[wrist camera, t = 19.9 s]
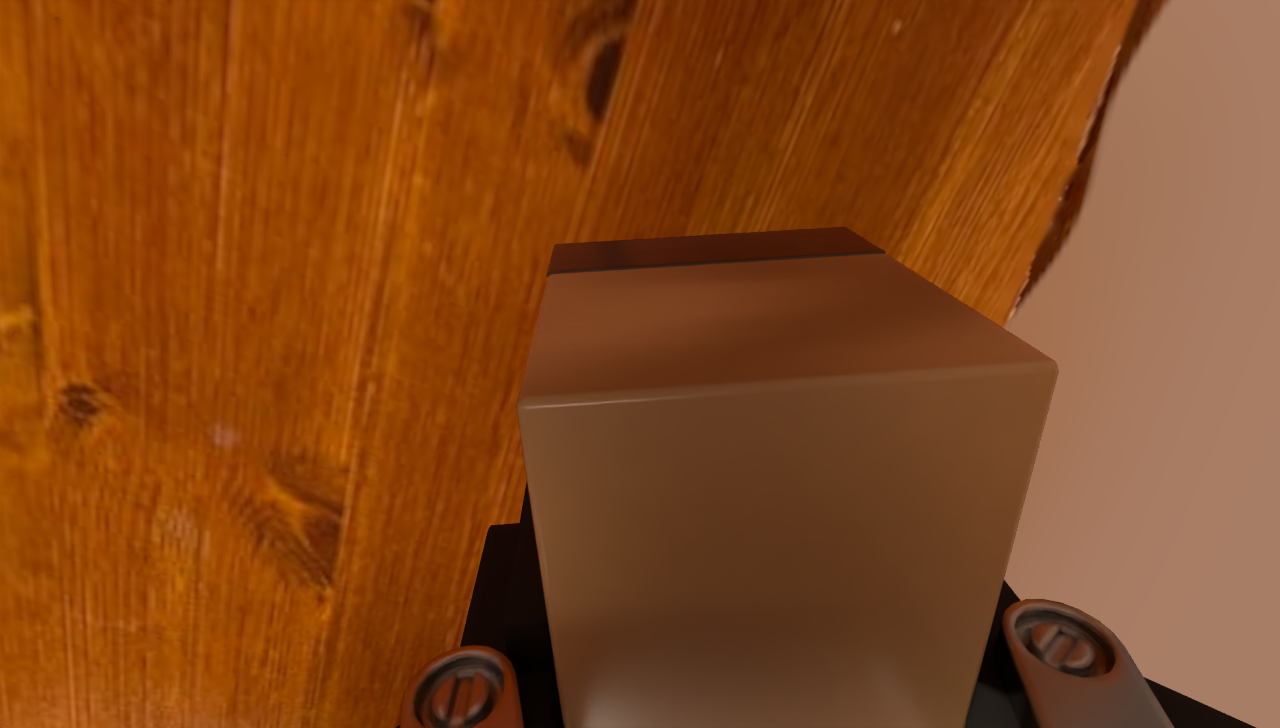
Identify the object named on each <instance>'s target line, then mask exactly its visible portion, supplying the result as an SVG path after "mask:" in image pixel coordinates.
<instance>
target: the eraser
mask: <svg viewBox="0 0 1280 728" xmlns="http://www.w3.org/2000/svg"><path fill="white" fill-rule="evenodd" d="M1057 376H1058V365H1057V363H1056V362H1055V361H1054V360H1053V359H1051V358H1049V357H1048V356H1046V355H1045V354H1043V353H1042V352H1040V351H1038V350H1037V349H1035V348H1033V347H1032V346H1031V345H1029V344H1027V343H1026V342H1024V341H1022V340H1021V339H1019V338H1018V337H1016V336H1015V335H1013V334H1012V333H1010V332H1008V331H1007V330H1005V329H1004V328H1002V327H1001V326H999V325H997V324H996V323H994V322H993V321H991V320H990V319H988V318H986V317H985V316H983V315H982V314H980V313H979V312H977V311H975V310H974V309H972V308H971V307H969V306H968V305H966V304H964V303H963V302H961V301H960V300H958V299H956V298H955V297H953V296H952V295H950V294H949V293H947V292H945V291H944V290H942V289H941V288H939V287H938V286H936V285H934V284H933V283H931V282H930V281H928V280H927V279H925V278H923V277H922V276H920V275H919V274H917V273H916V272H914V271H912V270H911V269H909V268H908V267H906V266H905V265H903V264H901V263H900V262H898V261H897V260H895V259H893V258H892V257H890V256H889V255H886V254H885V251H883V250H882V249H880V248H879V247H877V246H875V245H874V244H872V243H871V242H869V241H867V240H866V239H864V238H863V237H861V236H860V235H858V234H856V233H855V232H853V231H852V230H850V229H848V228H847V227H833V228H816V229H800V230H783V231H767V232H750V233H734V234H717V235H701V236H684V237H668V238H651V239H635V240H618V241H602V242H585V243H569V244H556V245H554V248H553V252H552V256H551V260H550V264H549V268H548V272H547V281H546V285H545V289H544V293H543V297H542V301H541V305H540V309H539V313H538V317H537V322H536V326H535V330H534V334H533V338H532V342H531V346H530V350H529V354H528V359H527V363H526V367H525V371H524V375H523V379H522V383H521V387H520V391H519V396H518V400H517V404H516V409H517V416H518V423H519V429H520V436H521V443H522V450H523V456H524V463H525V470H526V477H527V483H528V490H529V497H530V504H531V510H532V517H533V524H534V531H535V537H536V544H537V551H538V557H539V564H540V571H541V578H542V584H543V591H544V598H545V605H546V611H547V618H548V625H549V632H550V638H551V645H552V652H553V658H554V665H555V672H556V679H557V685H558V692H559V699H560V706H561V712H562V719H563V726H564V728H965V724H966V720H967V717H968V713H969V709H970V705H971V701H972V698H973V694H974V690H975V686H976V682H977V679H978V675H979V671H980V667H981V664H982V660H983V656H984V652H985V648H986V645H987V641H988V637H989V633H990V630H991V626H992V622H993V618H994V614H995V611H996V607H997V603H998V599H999V595H1000V592H1001V588H1002V584H1003V580H1004V576H1005V573H1006V569H1007V565H1008V561H1009V557H1010V554H1011V550H1012V546H1013V543H1014V539H1015V535H1016V531H1017V527H1018V524H1019V520H1020V516H1021V512H1022V508H1023V505H1024V501H1025V497H1026V493H1027V490H1028V486H1029V482H1030V478H1031V474H1032V470H1033V466H1034V463H1035V459H1036V455H1037V452H1038V448H1039V444H1040V440H1041V437H1042V432H1043V429H1044V425H1045V421H1046V417H1047V414H1048V410H1049V406H1050V403H1051V399H1052V395H1053V391H1054V387H1055V384H1056V380H1057Z"/></svg>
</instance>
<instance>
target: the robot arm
mask: <svg viewBox="0 0 1280 728" xmlns="http://www.w3.org/2000/svg"><path fill="white" fill-rule="evenodd" d="M396 728H564V726H563V719H562V712H561V706H560V699H559V692H558V685H557V679H556V672H555V665H554V658H553V652H552V645H551V638H550V632H549V625H548V618H547V611H546V605H545V598H544V591H543V584H542V578H541V571H540V564H539V557H538V551H537V544H536V537H535V531H534V524H533V517H532V510H531V504H530V497H529V490H528V483H526V489H525V495H524V501H523V506H522V512H521V518H520V523H516V524H503V525H491V526H490V527H489V530H488V533H487V536H486V540H485V544H484V549H483V553H482V557H481V561H480V565H479V569H478V574H477V578H476V582H475V586H474V590H473V595H472V599H471V603H470V607H469V611H468V615H467V620H466V624H465V628H464V632H463V636H462V641H461V645H460V647H457V648H455V649H452V650H449V651H447V652H444V653H442V654H440V655H438V656H437V657H435V658H434V659H432V660H431V661H429V662H428V663H426V664H425V665H424V666H423V667H422V668H421V669H420V670H419V671H418V672H417V674H416V675H415V676H414V677H413V678H412V680H411V681H410V683H409V685H408V687H407V689H406V690H405V692H404V696H403V700H402V705H401V712H400V725H399V726H398V727H396ZM965 728H1256V727H1253V726H1251V725H1249V724H1247V723H1244V722H1242V721H1240V720H1238V719H1236V718H1234V717H1231V716H1229V715H1227V714H1225V713H1222V712H1220V711H1218V710H1216V709H1214V708H1211V707H1209V706H1207V705H1205V704H1202V703H1200V702H1198V701H1196V700H1193V699H1191V698H1189V697H1187V696H1185V695H1182V694H1180V693H1178V692H1176V691H1173V690H1171V689H1169V688H1167V687H1165V686H1162V685H1160V684H1158V683H1156V682H1153V681H1151V680H1149V679H1147V678H1145V677H1143V676H1142V674H1141V672H1140V671H1139V670H1138V668H1137V666H1136V664H1135V663H1134V661H1133V659H1132V658H1131V656H1130V655H1129V653H1128V651H1127V650H1126V648H1125V646H1124V645H1123V644H1122V643H1121V641H1120V640H1119V639H1118V638H1117V637H1116V635H1115V634H1114V633H1113V632H1112V631H1111V630H1110V629H1108V628H1107V627H1106V626H1105V625H1103V624H1102V623H1101V622H1100V621H1098V620H1097V619H1095V618H1093V617H1092V616H1090V615H1088V614H1086V613H1085V612H1083V611H1081V610H1079V609H1077V608H1074V607H1071V606H1069V605H1066V604H1063V603H1060V602H1055V601H1050V600H1045V599H1026V600H1023V601H1020V599H1019V598H1018V597H1017V596H1016V594H1015V593H1014V592H1013V590H1012V589H1011V588H1010V587H1009V586H1008V584H1007V583H1006V582H1005V581H1004V580H1003V584H1002V588H1001V592H1000V595H999V599H998V603H997V607H996V611H995V614H994V618H993V622H992V626H991V630H990V633H989V637H988V641H987V645H986V648H985V652H984V656H983V660H982V664H981V667H980V671H979V675H978V679H977V682H976V686H975V690H974V694H973V698H972V701H971V705H970V709H969V713H968V717H967V720H966V724H965Z"/></svg>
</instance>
